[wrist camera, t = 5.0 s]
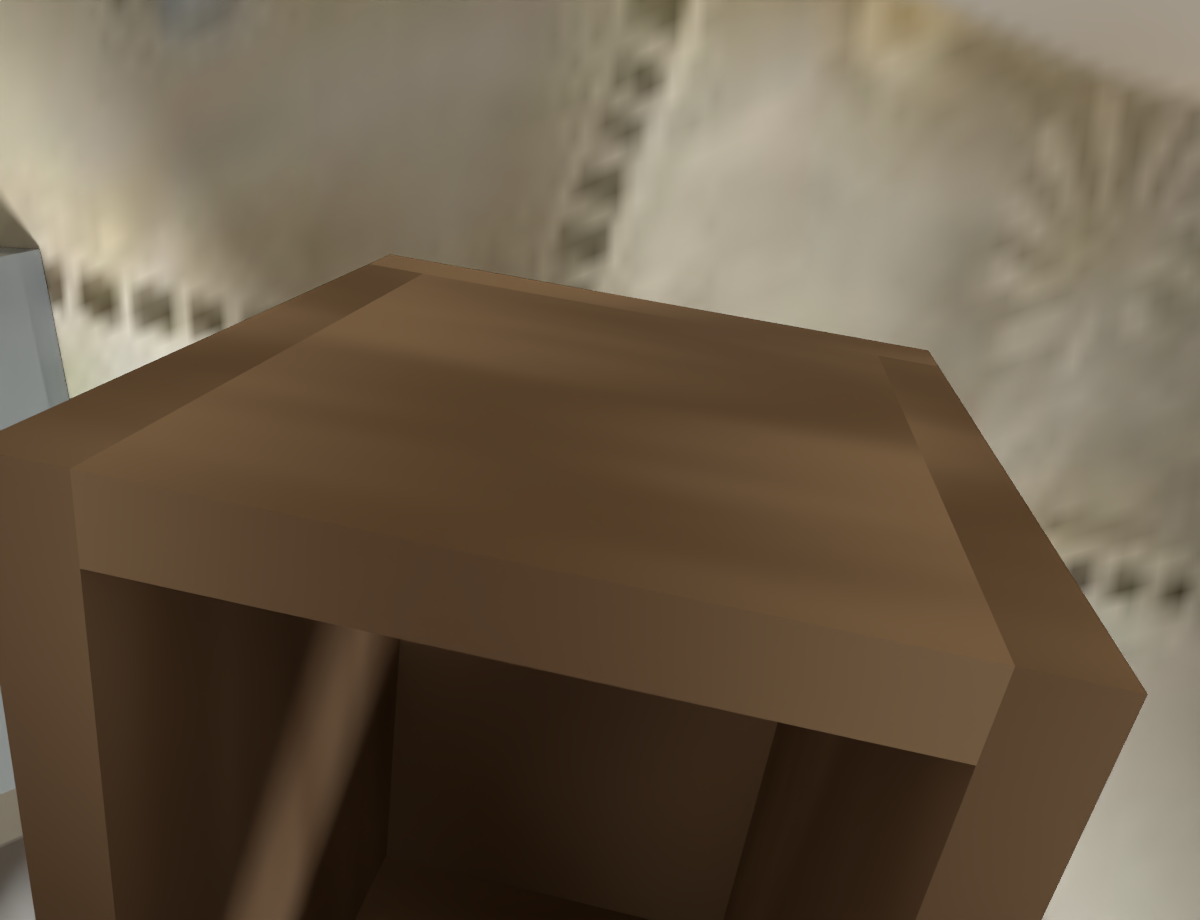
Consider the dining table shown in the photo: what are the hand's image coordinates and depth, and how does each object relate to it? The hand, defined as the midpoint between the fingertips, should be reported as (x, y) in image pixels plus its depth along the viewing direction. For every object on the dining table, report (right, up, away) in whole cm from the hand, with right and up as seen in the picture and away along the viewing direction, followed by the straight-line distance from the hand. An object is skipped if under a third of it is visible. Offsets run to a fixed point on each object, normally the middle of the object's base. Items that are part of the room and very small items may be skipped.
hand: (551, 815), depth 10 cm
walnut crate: (0, +2, +2) cm, 2 cm away
